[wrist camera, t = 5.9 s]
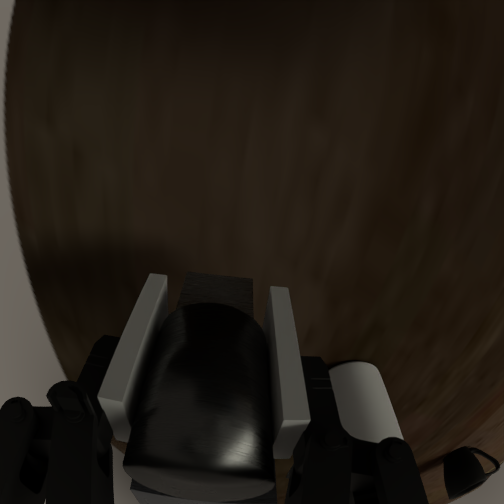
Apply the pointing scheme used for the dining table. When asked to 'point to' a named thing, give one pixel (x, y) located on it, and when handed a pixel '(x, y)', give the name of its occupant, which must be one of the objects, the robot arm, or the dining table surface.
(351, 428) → the can
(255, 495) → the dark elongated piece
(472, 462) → the mug
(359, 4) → the dining table surface
